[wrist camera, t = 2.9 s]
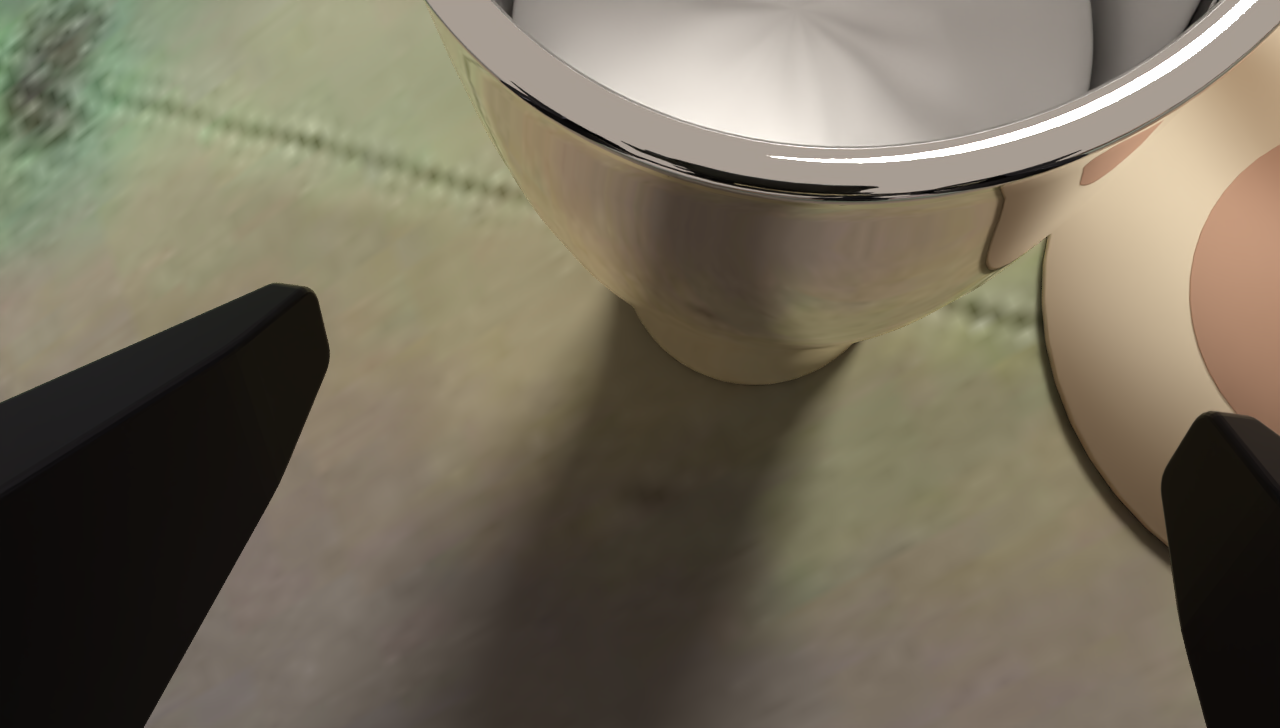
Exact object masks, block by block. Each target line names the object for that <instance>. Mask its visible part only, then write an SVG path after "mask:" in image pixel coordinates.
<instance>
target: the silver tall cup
mask: <svg viewBox="0 0 1280 728" xmlns="http://www.w3.org/2000/svg"><path fill="white" fill-rule="evenodd" d="M423 1H424V2H425V4H426V6H427V9H428V11H429V13H430V15H431V18H432V20H433V22H434V24H435V27H436V29H437V31H438V33H439V36H440V38H441V40H442V42H443V44H444V47H445V49H446V51H447V53H448V56H449V58H450V60H451V62H452V64H453V66H454V68H455V70H456V72H457V74H458V76H459V78H460V80H461V82H462V84H463V86H464V88H465V90H466V93H467V95H468V97H469V99H470V101H471V103H472V105H473V107H474V109H475V111H476V113H477V115H478V117H479V119H480V121H481V123H482V125H483V127H484V128H485V130H486V132H487V134H488V136H489V138H490V140H491V141H492V143H493V145H494V146H495V148H496V150H497V151H498V153H499V155H500V156H501V158H502V160H503V161H504V163H505V164H506V166H507V168H508V169H509V171H510V173H511V174H512V176H513V177H514V179H515V181H516V182H517V184H518V185H519V187H520V189H521V190H522V192H523V194H524V195H525V197H526V198H527V200H528V201H529V203H530V204H531V206H532V207H533V208H534V210H535V211H536V212H537V214H538V215H539V216H540V218H541V219H542V220H543V221H544V223H545V224H546V225H547V226H548V227H549V229H550V230H551V231H552V232H553V233H554V234H555V235H556V237H557V238H558V239H559V240H560V241H561V242H562V243H563V244H564V246H565V247H566V248H567V249H568V250H569V251H570V252H571V253H572V255H573V256H574V257H575V258H576V259H577V260H578V261H579V262H580V263H581V264H582V265H583V267H585V268H586V269H587V270H588V271H589V272H590V273H591V274H592V275H593V276H594V277H595V278H596V279H597V280H598V281H599V282H600V283H602V284H603V285H604V286H605V287H606V288H608V289H609V290H610V291H611V292H613V293H614V294H615V295H617V296H618V297H620V298H621V299H622V300H624V301H625V302H627V303H628V304H630V305H631V306H633V307H634V309H635V311H636V313H637V315H638V317H639V319H640V321H641V322H642V324H643V326H644V327H645V328H646V330H647V331H648V333H649V334H650V335H651V336H652V338H653V339H654V340H655V341H656V342H657V343H658V344H659V345H660V346H661V347H662V348H663V349H664V350H665V351H666V352H667V353H668V354H670V355H671V356H672V357H673V358H675V359H676V360H677V361H679V362H680V363H682V364H683V365H685V366H687V367H689V368H690V369H692V370H694V371H696V372H698V373H701V374H703V375H705V376H708V377H711V378H714V379H717V380H721V381H725V382H730V383H736V384H746V385H764V384H774V383H780V382H785V381H789V380H793V379H796V378H799V377H802V376H805V375H807V374H810V373H812V372H814V371H816V370H818V369H820V368H822V367H823V366H825V365H827V364H828V363H830V362H831V361H833V360H834V359H836V358H837V357H838V356H840V355H841V354H842V353H843V352H844V351H846V350H847V349H848V348H849V347H850V346H851V345H852V344H853V343H855V342H859V341H863V340H867V339H871V338H874V337H877V336H880V335H883V334H886V333H889V332H892V331H895V330H897V329H900V328H902V327H904V326H907V325H909V324H911V323H913V322H916V321H918V320H920V319H922V318H924V317H926V316H927V315H929V314H931V313H933V312H935V311H937V310H938V309H940V308H942V307H944V306H946V305H948V304H950V303H951V302H953V301H955V300H957V299H959V298H961V297H962V296H964V295H966V294H968V293H970V292H971V291H973V290H975V289H976V288H978V287H980V286H981V285H983V284H984V283H986V282H987V281H989V280H990V279H992V278H993V277H995V276H996V275H998V274H999V273H1001V272H1002V271H1003V270H1005V269H1006V268H1007V267H1009V266H1010V265H1011V264H1013V263H1014V262H1015V261H1016V260H1018V259H1019V258H1020V257H1022V256H1023V255H1024V254H1025V253H1027V252H1028V251H1029V250H1030V249H1032V248H1033V247H1034V246H1035V245H1037V244H1038V243H1039V242H1041V241H1042V240H1043V239H1044V238H1046V237H1047V236H1048V235H1049V234H1051V233H1052V232H1053V231H1055V230H1056V229H1057V228H1058V227H1059V226H1061V225H1062V224H1063V223H1064V222H1066V221H1067V220H1068V219H1069V218H1070V217H1071V216H1072V215H1074V214H1075V213H1076V212H1077V211H1078V210H1079V209H1080V208H1081V207H1082V206H1083V205H1085V204H1086V203H1087V202H1088V201H1089V200H1090V199H1091V198H1092V197H1093V196H1094V195H1095V194H1096V193H1097V192H1098V191H1099V190H1100V189H1102V188H1103V187H1104V186H1105V185H1106V184H1107V183H1108V182H1109V181H1110V180H1111V179H1112V178H1113V177H1114V176H1115V175H1116V174H1118V173H1119V172H1120V171H1121V170H1122V169H1123V168H1124V167H1125V166H1126V165H1127V164H1128V163H1129V162H1130V161H1131V160H1132V159H1133V158H1134V157H1135V156H1136V155H1137V154H1138V153H1139V152H1140V151H1141V150H1142V149H1143V148H1144V147H1145V146H1146V145H1147V144H1148V143H1149V142H1150V141H1151V140H1152V139H1153V138H1154V137H1155V136H1156V135H1157V134H1158V133H1159V132H1160V131H1161V130H1162V129H1163V128H1164V127H1165V126H1166V125H1167V124H1168V123H1169V122H1170V121H1171V120H1172V119H1173V118H1174V117H1175V116H1176V115H1177V114H1178V113H1179V112H1180V111H1181V110H1182V109H1183V108H1184V107H1185V106H1186V105H1187V104H1188V103H1189V102H1190V101H1191V100H1192V99H1194V98H1195V97H1197V96H1198V95H1200V94H1201V93H1203V92H1204V91H1205V90H1207V89H1208V88H1209V87H1211V86H1212V85H1213V84H1215V83H1216V82H1217V81H1219V80H1220V79H1222V78H1223V77H1224V76H1225V75H1227V74H1228V73H1229V72H1230V71H1231V70H1233V69H1234V68H1235V67H1236V66H1237V65H1239V64H1240V63H1241V62H1242V61H1243V60H1245V59H1246V58H1247V57H1248V56H1249V55H1250V54H1251V53H1253V52H1254V51H1255V50H1256V49H1257V48H1258V47H1259V46H1260V45H1261V44H1263V43H1264V42H1265V41H1266V40H1267V39H1268V38H1269V37H1270V36H1271V35H1272V34H1273V33H1274V32H1275V31H1276V30H1277V29H1278V28H1279V27H1280V0H423Z"/></svg>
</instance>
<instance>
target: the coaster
mask: <svg viewBox="0 0 1280 728" xmlns="http://www.w3.org/2000/svg"><path fill="white" fill-rule="evenodd" d="M1041 303H1042V314H1043V324H1044V334H1045V343H1046V347H1047V352H1048V356H1049V360H1050V364H1051V369H1052V373H1053V377H1054V381H1055V384H1056V387H1057V390H1058V392H1059V395H1060V397H1061V400H1062V403H1063V405H1064V408H1065V410H1066V413H1067V416H1068V418H1069V421H1070V423H1071V425H1072V427H1073V429H1074V430H1075V432H1076V434H1077V436H1078V438H1079V440H1080V442H1081V443H1082V445H1083V447H1084V449H1085V451H1086V453H1087V455H1088V456H1089V458H1090V460H1091V461H1092V463H1093V464H1094V466H1095V467H1096V468H1097V470H1098V471H1099V473H1100V474H1101V475H1102V477H1103V478H1104V480H1105V481H1106V482H1107V484H1108V485H1109V487H1110V488H1111V489H1112V491H1113V492H1114V494H1115V495H1116V496H1117V497H1118V498H1119V499H1120V500H1121V502H1122V503H1123V504H1124V505H1125V506H1126V507H1127V508H1128V509H1129V510H1130V511H1131V512H1132V513H1133V515H1134V516H1135V517H1136V518H1137V519H1138V520H1139V521H1140V522H1141V523H1142V524H1143V525H1144V526H1145V528H1146V529H1148V530H1149V531H1150V532H1151V533H1152V534H1153V535H1155V536H1156V537H1157V538H1158V539H1159V540H1161V541H1162V542H1163V543H1164V544H1165V545H1166V546H1168V540H1167V533H1166V526H1165V519H1164V512H1163V505H1162V498H1161V479H1162V475H1163V472H1164V469H1165V467H1166V465H1167V464H1168V462H1169V460H1170V459H1171V457H1172V456H1173V454H1174V452H1175V451H1176V449H1177V448H1178V446H1179V444H1180V443H1181V441H1182V439H1183V438H1184V436H1185V435H1186V433H1187V431H1188V430H1189V428H1190V427H1191V425H1192V423H1193V422H1194V421H1195V419H1196V418H1197V417H1198V416H1199V415H1201V414H1202V413H1204V412H1207V411H1220V412H1227V413H1235V414H1242V415H1248V416H1251V417H1254V418H1256V419H1257V420H1259V421H1260V422H1262V423H1263V424H1264V425H1266V426H1267V427H1268V428H1270V429H1271V430H1273V431H1274V432H1275V433H1277V434H1278V435H1279V436H1280V27H1279V28H1278V29H1277V30H1276V31H1275V32H1274V33H1273V34H1272V35H1271V36H1270V37H1269V38H1268V39H1267V40H1266V41H1265V42H1264V43H1263V44H1261V45H1260V46H1259V47H1258V48H1257V49H1256V50H1255V51H1254V52H1253V53H1251V54H1250V55H1249V56H1248V57H1247V58H1246V59H1245V60H1243V61H1242V62H1241V63H1240V64H1239V65H1237V66H1236V67H1235V68H1234V69H1233V70H1231V71H1230V72H1229V73H1228V74H1227V75H1225V76H1224V77H1223V78H1222V79H1220V80H1219V81H1217V82H1216V83H1215V84H1213V85H1212V86H1211V87H1209V88H1208V89H1207V90H1205V91H1204V92H1203V93H1201V94H1200V95H1198V96H1197V97H1195V98H1194V99H1192V100H1191V101H1190V102H1189V103H1188V104H1187V105H1186V106H1185V107H1184V108H1183V109H1182V110H1181V111H1180V112H1179V113H1178V114H1177V115H1176V116H1175V117H1174V118H1173V119H1172V120H1171V121H1170V122H1169V123H1168V124H1167V125H1166V126H1165V127H1164V128H1163V129H1162V130H1161V131H1160V132H1159V133H1158V134H1157V135H1156V136H1155V137H1154V138H1153V139H1152V140H1151V141H1150V142H1149V143H1148V144H1147V145H1146V146H1145V147H1144V148H1143V149H1142V150H1141V151H1140V152H1139V153H1138V154H1137V155H1136V156H1135V157H1134V158H1133V159H1132V160H1131V161H1130V162H1129V163H1128V164H1127V165H1126V166H1125V167H1124V168H1123V169H1122V170H1121V171H1120V172H1119V173H1118V174H1116V175H1115V176H1114V177H1113V178H1112V179H1111V180H1110V181H1109V182H1108V183H1107V184H1106V185H1105V186H1104V187H1103V188H1102V189H1100V190H1099V191H1098V192H1097V193H1096V194H1095V195H1094V196H1093V197H1092V198H1091V199H1090V200H1089V201H1088V202H1087V203H1086V204H1085V205H1083V206H1082V207H1081V208H1080V209H1079V210H1078V211H1077V212H1076V213H1075V214H1074V215H1072V216H1071V217H1070V218H1069V219H1068V220H1067V221H1066V222H1064V223H1063V224H1062V225H1061V226H1059V227H1058V228H1057V229H1056V230H1055V231H1053V232H1052V233H1051V234H1049V235H1048V237H1047V243H1046V248H1045V254H1044V259H1043V274H1042V298H1041Z"/></svg>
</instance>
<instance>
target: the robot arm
mask: <svg viewBox="0 0 1280 728" xmlns="http://www.w3.org/2000/svg"><path fill="white" fill-rule="evenodd" d="M329 358H330V349H329V343H328V339H327V335H326V331H325V327H324V322H323V318H322V314H321V310H320V306H319V301H318V299H317V296H316V294H315V293H314V291H313V290H311V289H310V288H308V287H305V286H298V285H291V284H284V283H272V284H269V285H267V286H264V287H262V288H260V289H257V290H255V291H253V292H251V293H248V294H246V295H244V296H242V297H239V298H237V299H235V300H232V301H230V302H228V303H226V304H223V305H221V306H219V307H217V308H214V309H212V310H210V311H208V312H205V313H203V314H201V315H198V316H196V317H194V318H192V319H189V320H187V321H185V322H183V323H180V324H178V325H176V326H173V327H171V328H169V329H167V330H164V331H162V332H160V333H158V334H155V335H153V336H151V337H148V338H146V339H144V340H142V341H139V342H137V343H135V344H133V345H130V346H128V347H126V348H124V349H121V350H119V351H117V352H114V353H112V354H110V355H108V356H105V357H103V358H101V359H99V360H96V361H94V362H92V363H89V364H87V365H85V366H83V367H80V368H78V369H76V370H74V371H71V372H69V373H67V374H65V375H62V376H60V377H58V378H55V379H53V380H51V381H49V382H46V383H44V384H42V385H40V386H37V387H35V388H33V389H30V390H28V391H26V392H24V393H21V394H19V395H17V396H15V397H12V398H10V399H8V400H5V401H3V402H1V403H0V728H144V726H145V724H146V723H147V721H148V719H149V717H150V715H151V714H152V712H153V710H154V708H155V706H156V705H157V703H158V701H159V699H160V697H161V696H162V694H163V692H164V690H165V688H166V687H167V685H168V683H169V681H170V680H171V678H172V676H173V674H174V672H175V671H176V669H177V667H178V665H179V663H180V662H181V660H182V658H183V656H184V654H185V653H186V651H187V649H188V647H189V646H190V644H191V642H192V640H193V638H194V637H195V635H196V633H197V631H198V629H199V628H200V626H201V624H202V622H203V620H204V619H205V617H206V615H207V613H208V612H209V610H210V608H211V606H212V604H213V603H214V601H215V599H216V597H217V595H218V594H219V592H220V590H221V588H222V586H223V585H224V583H225V581H226V579H227V577H228V576H229V574H230V572H231V570H232V569H233V567H234V565H235V563H236V561H237V560H238V558H239V556H240V554H241V552H242V551H243V549H244V547H245V545H246V543H247V542H248V540H249V538H250V536H251V535H252V533H253V531H254V529H255V527H256V526H257V524H258V522H259V520H260V518H261V517H262V515H263V513H264V511H265V509H266V508H267V506H268V504H269V502H270V500H271V498H272V497H273V495H274V493H275V491H276V489H277V487H278V485H279V483H280V481H281V479H282V476H283V474H284V472H285V470H286V468H287V465H288V463H289V461H290V458H291V456H292V453H293V451H294V449H295V446H296V444H297V441H298V439H299V436H300V434H301V432H302V429H303V427H304V424H305V422H306V420H307V417H308V415H309V412H310V410H311V408H312V405H313V403H314V400H315V398H316V395H317V393H318V391H319V388H320V386H321V383H322V381H323V379H324V376H325V374H326V371H327V368H328V364H329ZM1161 498H1162V505H1163V512H1164V519H1165V526H1166V533H1167V540H1168V547H1169V554H1170V561H1171V569H1172V576H1173V583H1174V590H1175V597H1176V604H1177V610H1178V616H1179V621H1180V627H1181V632H1182V636H1183V640H1184V644H1185V648H1186V652H1187V656H1188V660H1189V664H1190V667H1191V671H1192V675H1193V678H1194V682H1195V686H1196V689H1197V693H1198V697H1199V700H1200V704H1201V708H1202V712H1203V715H1204V719H1205V723H1206V726H1207V728H1280V436H1279V435H1278V434H1277V433H1275V432H1274V431H1273V430H1271V429H1270V428H1268V427H1267V426H1266V425H1264V424H1263V423H1262V422H1260V421H1259V420H1257V419H1256V418H1254V417H1251V416H1248V415H1242V414H1235V413H1227V412H1220V411H1207V412H1204V413H1202V414H1201V415H1199V416H1198V417H1197V418H1196V419H1195V421H1194V422H1193V423H1192V425H1191V427H1190V428H1189V430H1188V431H1187V433H1186V435H1185V436H1184V438H1183V439H1182V441H1181V443H1180V444H1179V446H1178V448H1177V449H1176V451H1175V452H1174V454H1173V456H1172V457H1171V459H1170V460H1169V462H1168V464H1167V465H1166V467H1165V469H1164V472H1163V475H1162V479H1161Z"/></svg>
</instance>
